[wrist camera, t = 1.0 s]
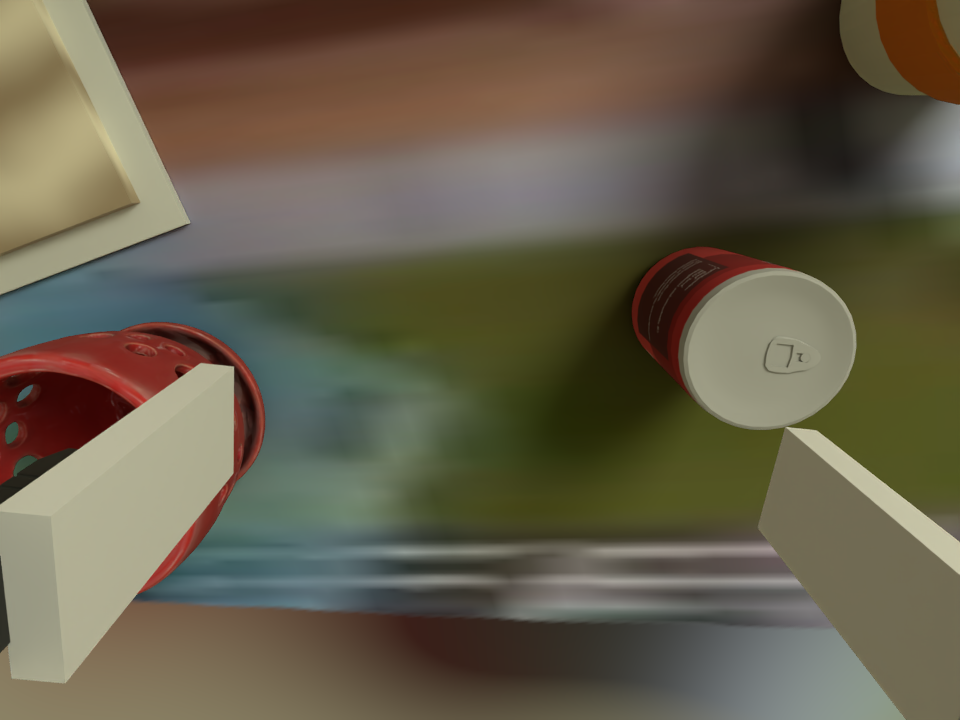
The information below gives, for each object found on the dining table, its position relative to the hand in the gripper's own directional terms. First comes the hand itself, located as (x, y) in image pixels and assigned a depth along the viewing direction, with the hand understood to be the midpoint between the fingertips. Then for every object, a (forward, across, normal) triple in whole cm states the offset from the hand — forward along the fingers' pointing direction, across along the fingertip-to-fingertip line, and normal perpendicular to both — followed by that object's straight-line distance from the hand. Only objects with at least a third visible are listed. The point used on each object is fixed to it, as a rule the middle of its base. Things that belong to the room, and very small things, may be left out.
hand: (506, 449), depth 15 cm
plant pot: (+25, -19, -10) cm, 33 cm away
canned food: (+25, +13, 0) cm, 28 cm away
